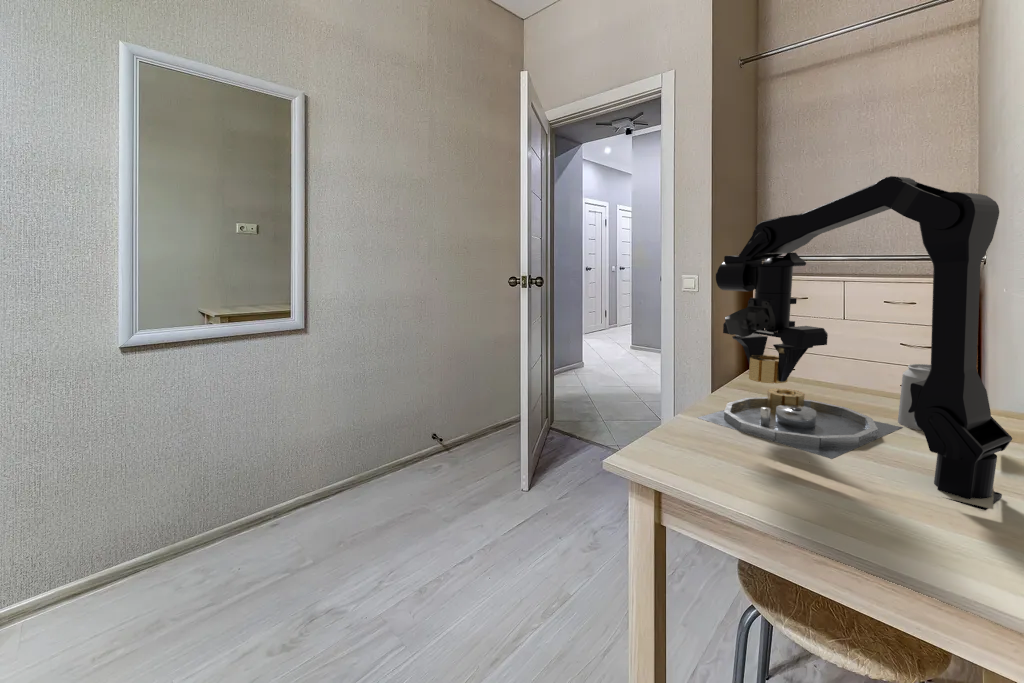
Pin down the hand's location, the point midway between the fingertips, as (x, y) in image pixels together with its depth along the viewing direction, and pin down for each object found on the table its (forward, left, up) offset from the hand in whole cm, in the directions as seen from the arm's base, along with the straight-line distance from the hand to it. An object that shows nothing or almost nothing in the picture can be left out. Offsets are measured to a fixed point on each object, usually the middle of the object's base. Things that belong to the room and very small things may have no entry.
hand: (768, 377), depth 89 cm
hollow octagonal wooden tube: (0, 0, 0) cm, 0 cm away
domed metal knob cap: (+7, -2, -9) cm, 12 cm away
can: (+24, -16, -11) cm, 30 cm away
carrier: (+7, -2, -10) cm, 12 cm away
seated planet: (+12, +3, -9) cm, 15 cm away
